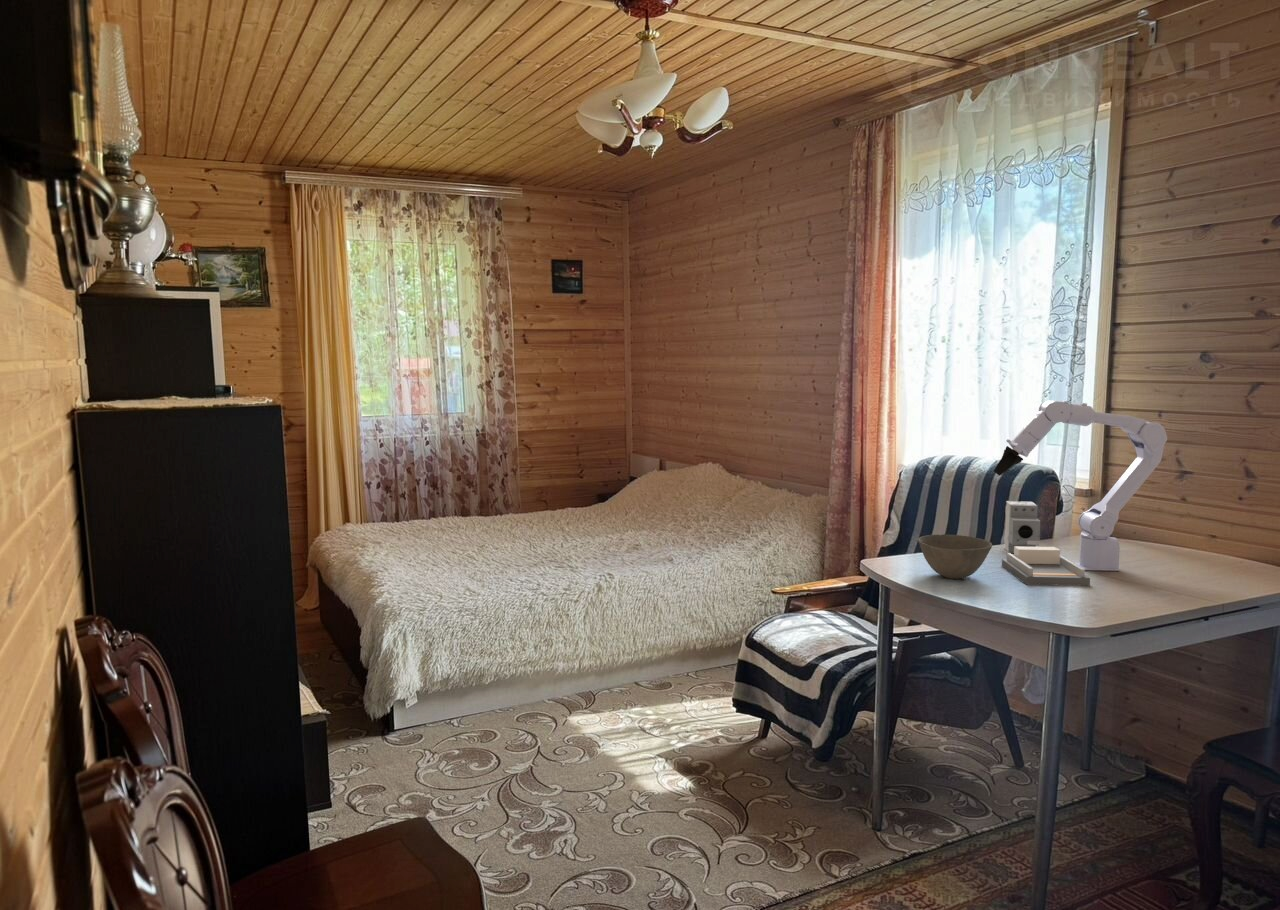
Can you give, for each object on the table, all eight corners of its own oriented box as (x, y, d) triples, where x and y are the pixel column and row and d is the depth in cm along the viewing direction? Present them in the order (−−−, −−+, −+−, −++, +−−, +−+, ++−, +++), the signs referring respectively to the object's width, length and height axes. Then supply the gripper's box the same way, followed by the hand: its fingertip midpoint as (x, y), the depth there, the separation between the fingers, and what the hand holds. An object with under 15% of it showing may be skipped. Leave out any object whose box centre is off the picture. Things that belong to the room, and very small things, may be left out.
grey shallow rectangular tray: (1060, 567, 238) (1060, 553, 238) (1089, 585, 219) (1090, 570, 218) (1001, 565, 240) (1002, 552, 240) (1025, 584, 220) (1026, 569, 220)
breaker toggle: (1054, 560, 236) (1054, 547, 236) (1059, 564, 232) (1060, 550, 232) (1013, 560, 238) (1014, 546, 237) (1018, 563, 234) (1018, 549, 233)
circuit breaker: (1012, 558, 250) (1014, 508, 248) (1004, 547, 263) (1005, 500, 262) (1040, 559, 248) (1042, 509, 246) (1029, 548, 262) (1031, 501, 260)
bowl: (905, 578, 227) (906, 542, 226) (933, 565, 241) (934, 531, 240) (975, 590, 215) (976, 552, 214) (1000, 576, 229) (1002, 540, 228)
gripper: (1016, 429, 244) (984, 465, 246) (1020, 424, 230) (986, 461, 233) (1037, 445, 242) (1004, 480, 244) (1042, 440, 228) (1007, 478, 231)
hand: (997, 472), depth 238 cm, fingers open, 7 cm apart
